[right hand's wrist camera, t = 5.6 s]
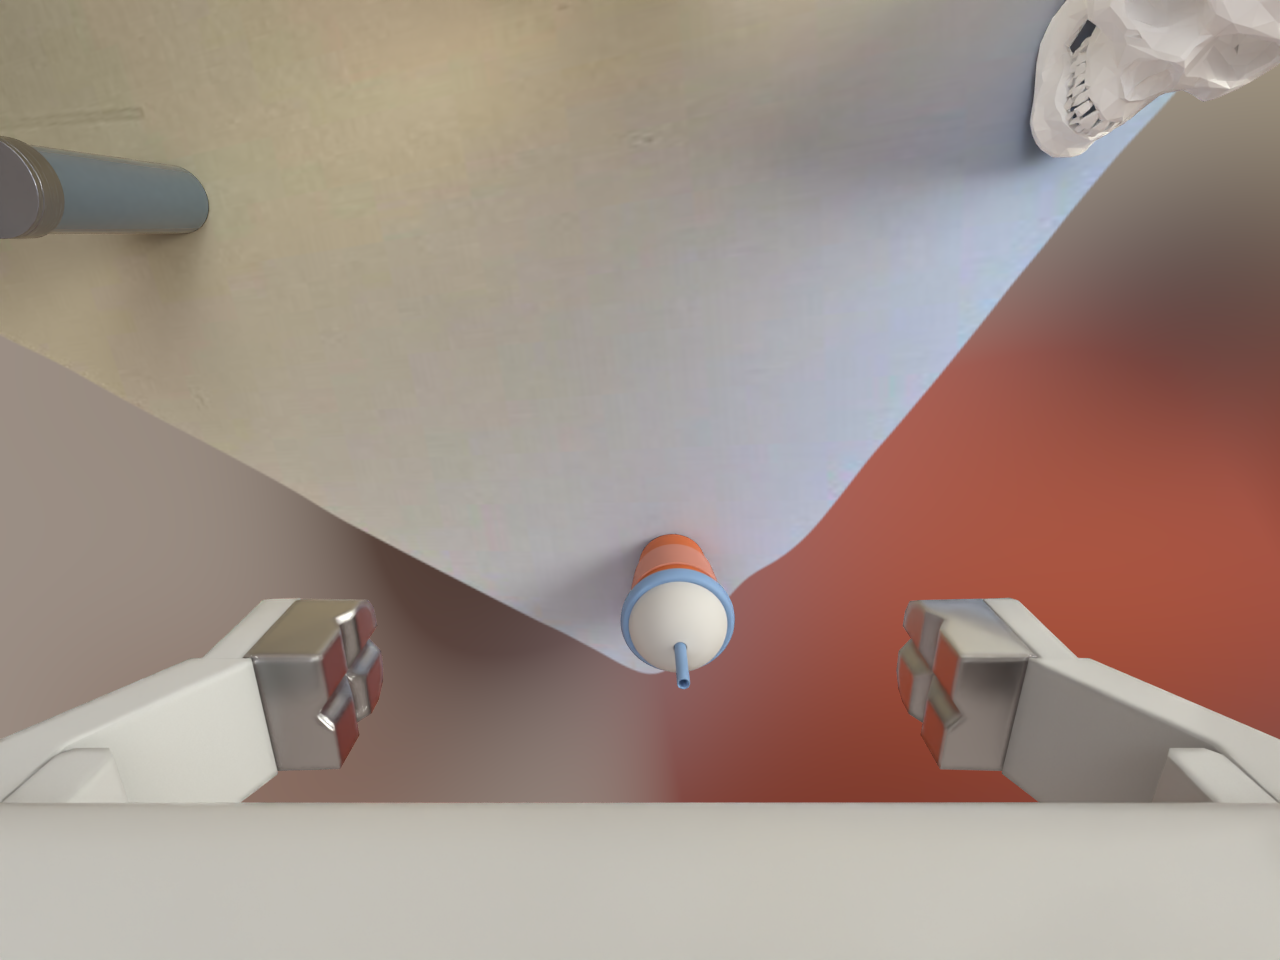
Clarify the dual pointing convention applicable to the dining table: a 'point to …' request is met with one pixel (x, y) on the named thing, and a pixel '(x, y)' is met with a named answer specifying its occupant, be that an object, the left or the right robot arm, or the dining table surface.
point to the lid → (27, 192)
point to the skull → (1143, 61)
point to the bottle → (125, 195)
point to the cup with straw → (676, 609)
